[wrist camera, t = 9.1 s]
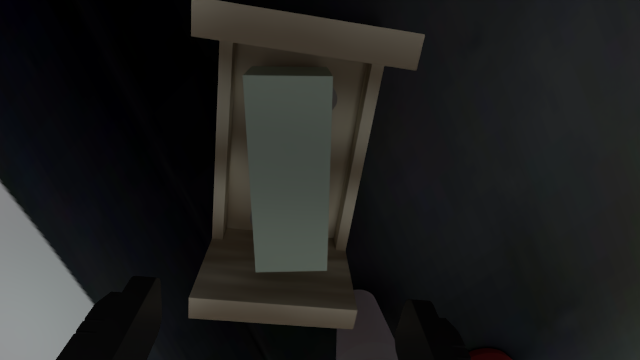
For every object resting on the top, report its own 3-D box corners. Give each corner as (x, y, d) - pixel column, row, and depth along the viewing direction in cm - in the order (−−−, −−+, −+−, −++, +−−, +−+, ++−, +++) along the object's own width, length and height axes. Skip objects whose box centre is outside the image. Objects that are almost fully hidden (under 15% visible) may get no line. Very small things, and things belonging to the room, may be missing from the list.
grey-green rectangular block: (251, 66, 22) (242, 75, 18) (326, 66, 22) (332, 76, 18) (261, 237, 26) (255, 272, 23) (322, 236, 27) (327, 270, 23)
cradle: (228, 4, 24) (191, -4, 15) (382, 29, 25) (425, 34, 17) (217, 238, 31) (188, 318, 22) (338, 249, 32) (352, 329, 24)
